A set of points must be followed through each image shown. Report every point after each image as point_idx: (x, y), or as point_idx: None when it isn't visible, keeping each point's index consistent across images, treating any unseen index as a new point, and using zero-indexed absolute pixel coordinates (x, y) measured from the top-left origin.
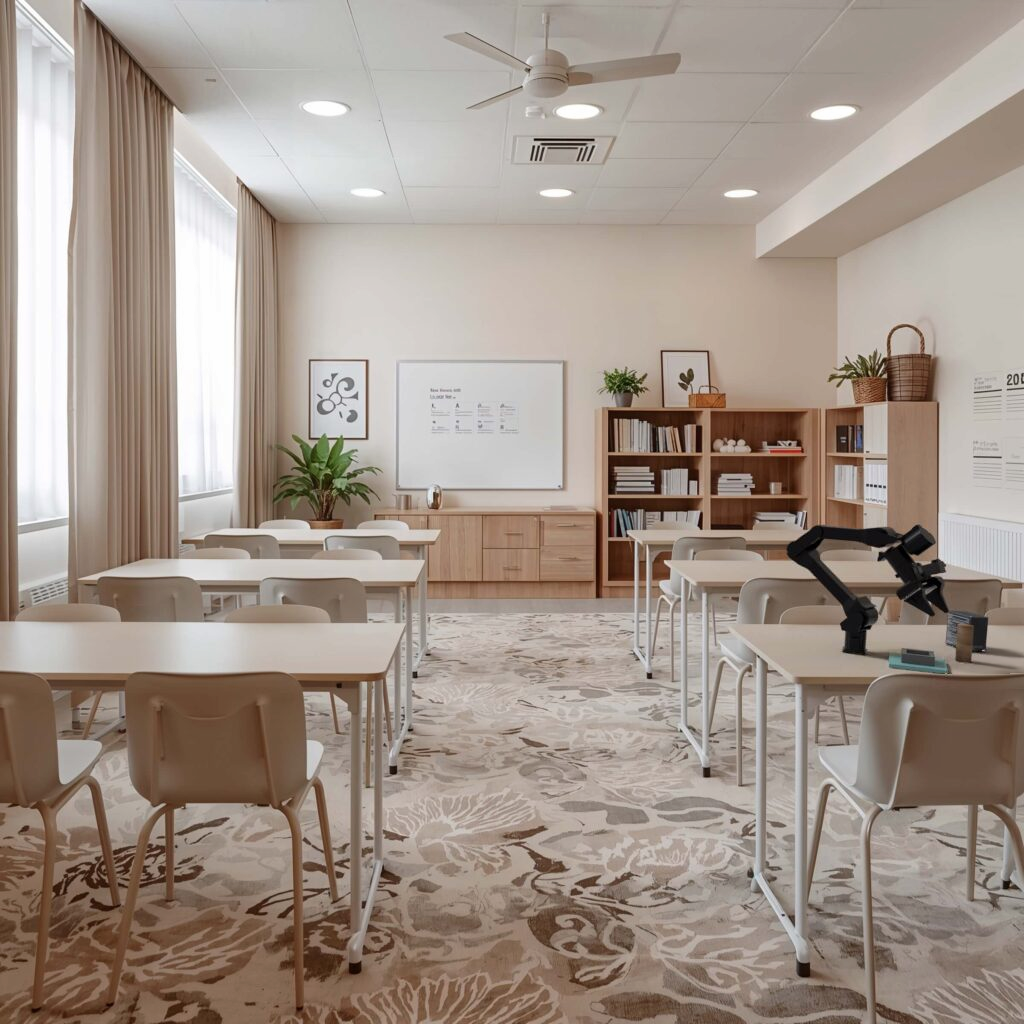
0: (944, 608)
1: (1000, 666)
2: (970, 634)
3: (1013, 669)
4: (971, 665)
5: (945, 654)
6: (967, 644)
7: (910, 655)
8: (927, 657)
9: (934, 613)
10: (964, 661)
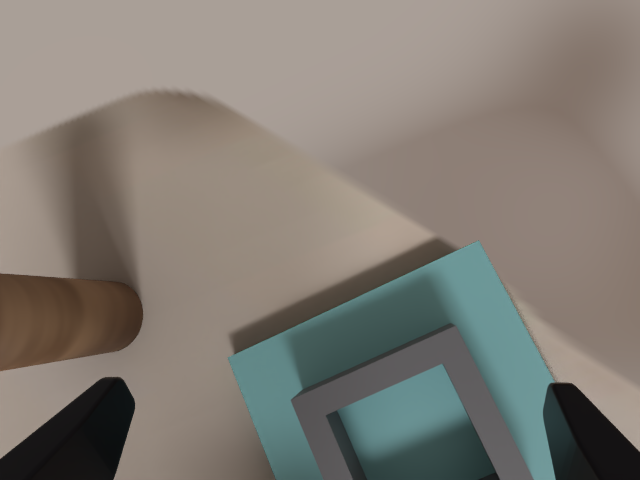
0: (102, 434)
1: (85, 169)
2: (16, 278)
3: (99, 114)
4: (170, 254)
5: (31, 432)
6: (72, 290)
7: (522, 459)
8: (475, 364)
9: (572, 392)
10: (136, 299)
